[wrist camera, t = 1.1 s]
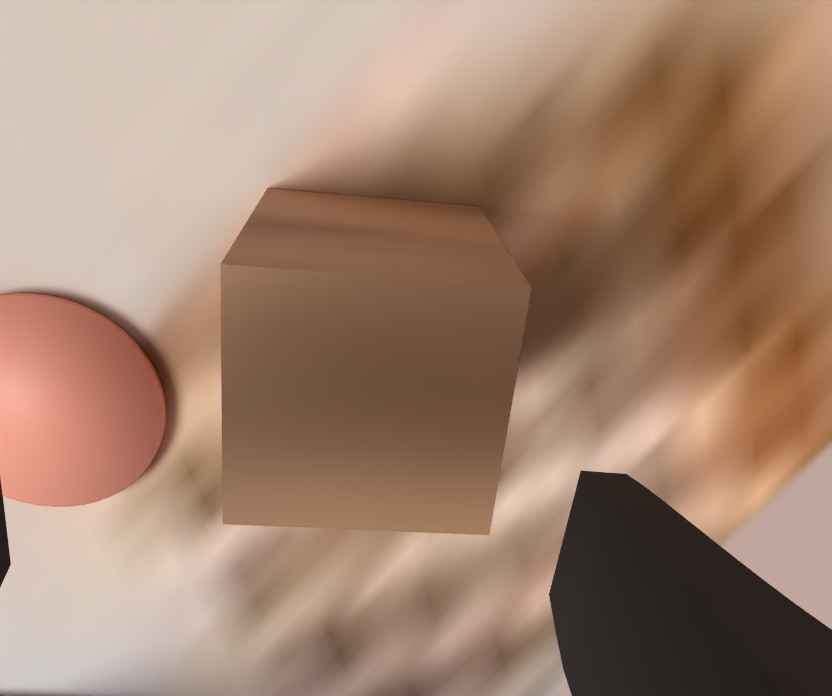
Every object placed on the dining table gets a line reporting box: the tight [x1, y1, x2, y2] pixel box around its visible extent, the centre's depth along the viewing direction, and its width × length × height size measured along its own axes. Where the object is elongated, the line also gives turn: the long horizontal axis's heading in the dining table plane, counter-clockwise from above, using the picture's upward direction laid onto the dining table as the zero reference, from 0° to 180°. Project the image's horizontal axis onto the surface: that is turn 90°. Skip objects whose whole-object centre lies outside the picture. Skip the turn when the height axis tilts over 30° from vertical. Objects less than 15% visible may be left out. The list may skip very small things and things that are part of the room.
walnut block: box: [221, 188, 532, 535], centre depth 15 cm, size 5×5×6 cm
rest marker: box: [0, 293, 166, 507], centre depth 18 cm, size 6×6×1 cm
